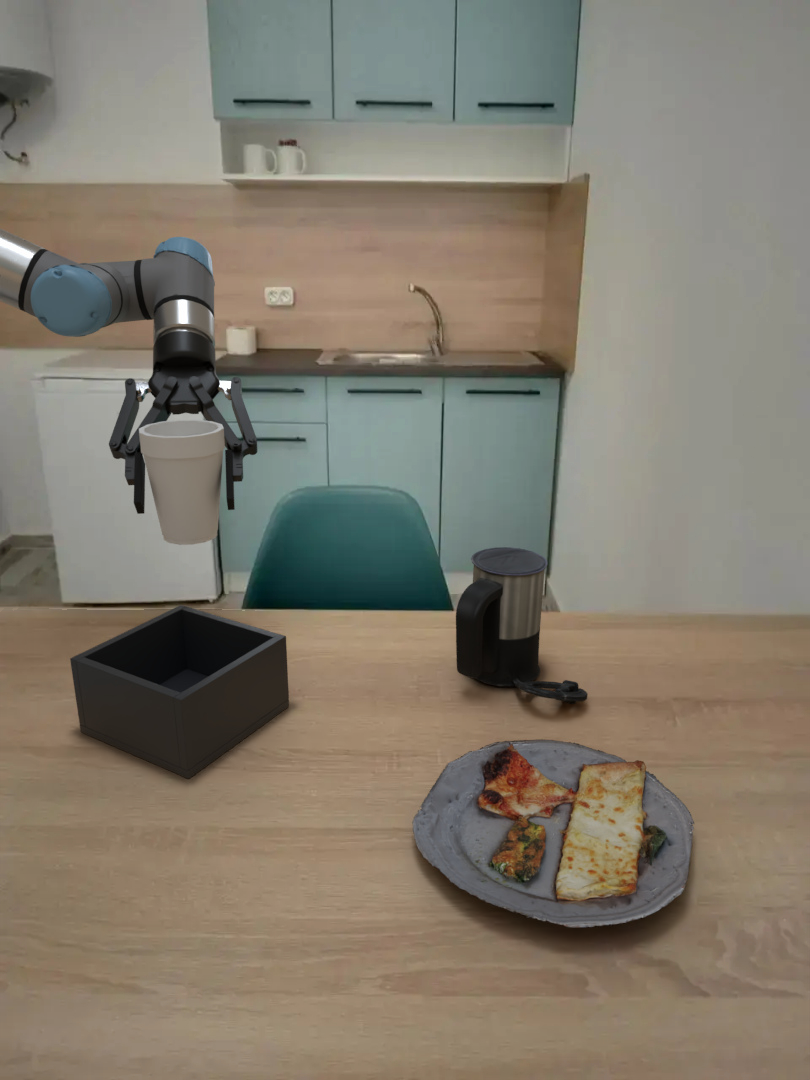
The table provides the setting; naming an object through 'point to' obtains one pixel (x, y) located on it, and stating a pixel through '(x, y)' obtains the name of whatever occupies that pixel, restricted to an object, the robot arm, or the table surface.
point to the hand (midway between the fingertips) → (185, 506)
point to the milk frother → (506, 624)
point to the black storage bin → (181, 687)
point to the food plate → (557, 832)
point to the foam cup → (185, 477)
